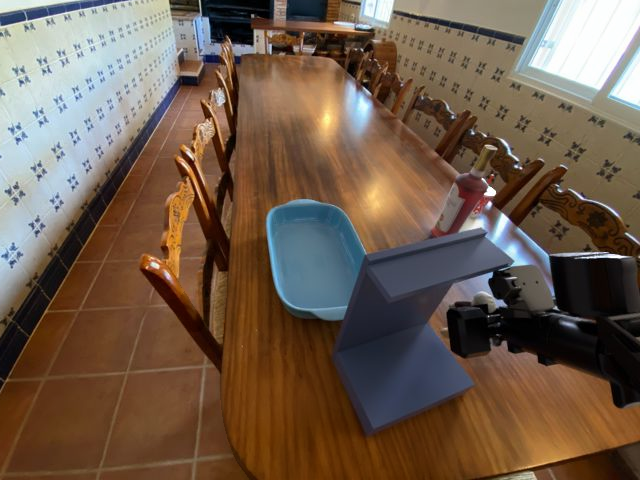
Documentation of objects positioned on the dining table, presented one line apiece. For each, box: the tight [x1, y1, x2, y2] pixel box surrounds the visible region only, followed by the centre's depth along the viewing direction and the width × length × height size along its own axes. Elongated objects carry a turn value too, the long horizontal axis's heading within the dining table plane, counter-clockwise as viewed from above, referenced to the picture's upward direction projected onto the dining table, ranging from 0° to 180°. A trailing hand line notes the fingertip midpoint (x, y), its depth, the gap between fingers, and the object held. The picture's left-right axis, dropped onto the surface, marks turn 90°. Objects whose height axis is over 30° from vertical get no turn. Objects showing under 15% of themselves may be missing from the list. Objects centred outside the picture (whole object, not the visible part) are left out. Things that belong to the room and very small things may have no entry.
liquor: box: [430, 144, 498, 238], centre depth 75 cm, size 7×7×28 cm
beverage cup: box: [469, 174, 497, 218], centre depth 90 cm, size 6×6×14 cm
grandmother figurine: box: [439, 291, 497, 340], centre depth 49 cm, size 8×4×13 cm, turn 42°
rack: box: [330, 226, 515, 438], centre depth 45 cm, size 13×20×28 cm, turn 110°
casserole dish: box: [265, 198, 368, 322], centre depth 70 cm, size 37×22×7 cm, turn 9°
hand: (467, 312), depth 50 cm, fingers closed on grandmother figurine, 3 cm apart
